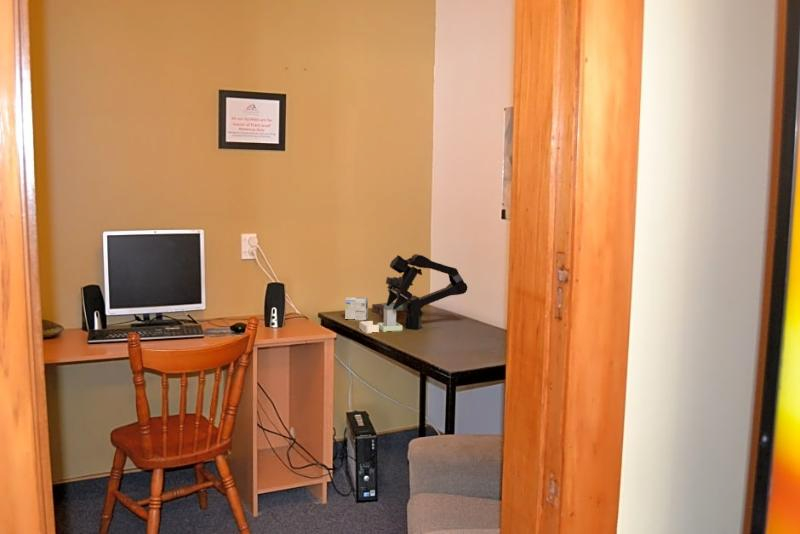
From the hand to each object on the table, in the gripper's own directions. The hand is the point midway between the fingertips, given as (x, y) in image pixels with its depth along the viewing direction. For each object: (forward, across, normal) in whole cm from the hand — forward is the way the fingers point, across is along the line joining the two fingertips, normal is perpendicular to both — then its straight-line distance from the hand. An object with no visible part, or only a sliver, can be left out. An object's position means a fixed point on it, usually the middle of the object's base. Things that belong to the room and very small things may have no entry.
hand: (390, 307), depth 330 cm
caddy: (+8, 0, +5) cm, 10 cm away
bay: (+14, 0, -2) cm, 14 cm away
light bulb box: (+13, -28, -1) cm, 31 cm away
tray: (+9, 0, +5) cm, 10 cm away
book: (+2, -34, +19) cm, 39 cm away
